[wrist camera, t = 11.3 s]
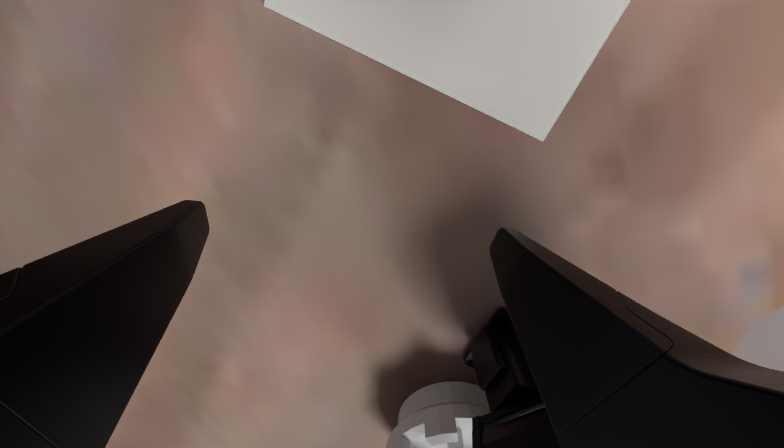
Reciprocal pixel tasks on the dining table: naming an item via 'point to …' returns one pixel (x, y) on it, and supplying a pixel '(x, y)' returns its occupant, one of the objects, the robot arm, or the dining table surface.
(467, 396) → the flag stand
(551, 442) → the robot arm
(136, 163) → the dining table surface
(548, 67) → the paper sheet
